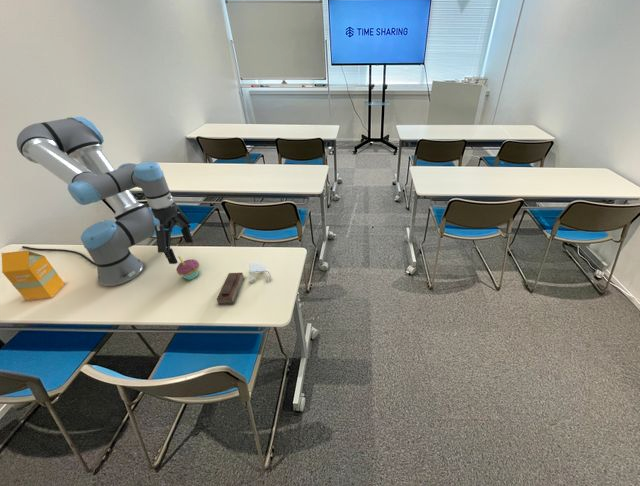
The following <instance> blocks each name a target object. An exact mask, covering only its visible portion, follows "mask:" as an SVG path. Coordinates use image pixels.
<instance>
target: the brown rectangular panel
mask: <svg viewBox="0 0 640 486" xmlns="http://www.w3.org/2000/svg"><path fill="white" fill-rule="evenodd" d="M244 280H245V277H244V273H243V272H228V274H227V276H226V277H225V280H224V282H223V285H222V286H221V289H220V290H219V292H218V295H217V297H216V301H217V304H218V305H219V306H223V305H225V306H226V305H234V304H235V302H236V299H237V298H238V294H239V293H240V290H241V287H242V284H243V282H244Z"/></svg>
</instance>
